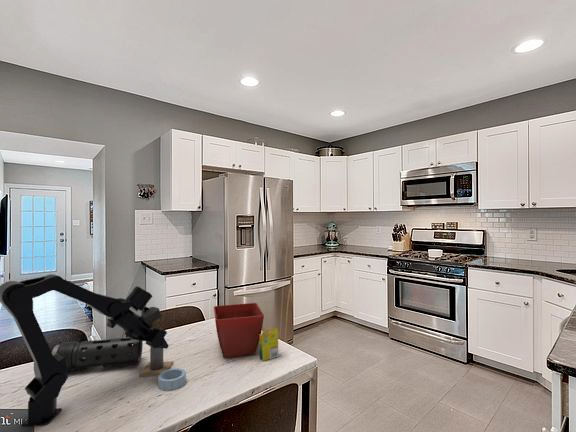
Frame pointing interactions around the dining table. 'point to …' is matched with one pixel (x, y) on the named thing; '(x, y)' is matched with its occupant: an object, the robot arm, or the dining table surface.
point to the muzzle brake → (100, 353)
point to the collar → (171, 379)
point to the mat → (149, 372)
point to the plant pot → (238, 328)
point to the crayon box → (268, 344)
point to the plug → (156, 358)
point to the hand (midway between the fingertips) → (160, 344)
